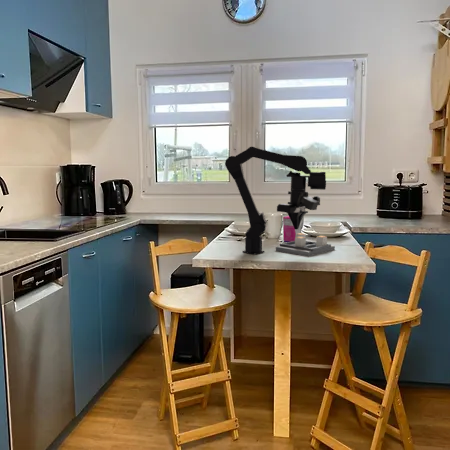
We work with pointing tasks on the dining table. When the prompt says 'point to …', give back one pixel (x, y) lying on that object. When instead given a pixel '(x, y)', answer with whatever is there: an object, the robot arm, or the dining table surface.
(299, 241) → the switch tab
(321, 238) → the switch tab
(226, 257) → the dining table surface
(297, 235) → the switch tab
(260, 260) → the dining table surface
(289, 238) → the supplement box
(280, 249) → the switch bank
